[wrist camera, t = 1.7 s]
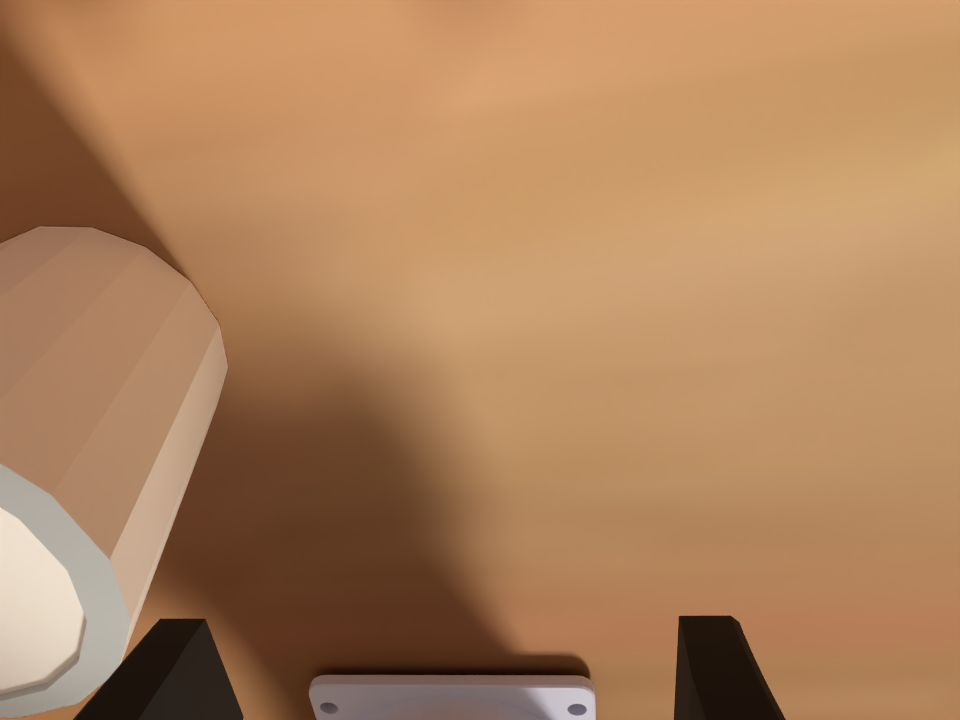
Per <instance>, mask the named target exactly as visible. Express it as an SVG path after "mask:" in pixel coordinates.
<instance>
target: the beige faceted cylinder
mask: <svg viewBox="0 0 960 720" xmlns="http://www.w3.org/2000/svg"><path fill="white" fill-rule="evenodd" d="M227 370H228V363H227V358H226V354H225V349H224V344H223V339H222V334H221V330H220V325H219V323H218V321H217V320H216V318H215V317H214V315H213V314H212V313H211V311H210V310H209V308H208V307H207V305H206V304H205V302H204V301H203V299H202V298H201V296H200V295H199V293H198V292H197V290H196V289H195V287H194V286H193V284H192V283H191V282H190V281H189V280H188V279H187V278H185V277H184V276H183V275H181V274H180V273H179V272H177V271H176V270H175V269H174V268H172V267H171V266H170V265H168V264H167V263H166V262H165V261H163V260H162V259H161V258H159V257H158V256H157V255H155V254H154V253H153V252H152V251H150V250H149V249H148V248H146V247H144V246H142V245H139V244H136V243H133V242H131V241H128V240H125V239H122V238H120V237H117V236H114V235H112V234H109V233H106V232H103V231H101V230H98V229H95V228H93V227H45V226H39V227H37V228H34V229H32V230H30V231H27V232H25V233H23V234H21V235H18V236H16V237H14V238H11V239H9V240H7V241H4V242H2V243H0V717H7V718H19V717H23V716H27V715H32V714H36V713H40V712H44V711H48V710H53V709H57V708H61V707H65V706H69V705H73V704H78V703H79V702H80V701H81V700H83V699H84V698H85V697H86V696H88V695H89V694H90V693H91V692H92V691H94V690H95V689H96V688H97V687H99V686H100V685H101V684H102V683H104V682H105V681H106V680H107V679H108V678H109V677H110V676H111V675H112V674H113V672H114V671H115V670H116V669H117V668H118V667H119V665H120V664H121V662H122V659H123V657H124V654H125V651H126V649H127V646H128V643H129V641H130V638H131V635H132V632H133V630H134V627H135V624H136V622H137V619H138V616H139V614H140V611H141V608H142V606H143V603H144V600H145V598H146V595H147V592H148V590H149V587H150V584H151V582H152V579H153V576H154V574H155V571H156V568H157V565H158V563H159V560H160V557H161V555H162V552H163V549H164V547H165V544H166V541H167V539H168V536H169V533H170V531H171V528H172V525H173V523H174V520H175V517H176V515H177V512H178V509H179V507H180V504H181V501H182V499H183V496H184V493H185V490H186V488H187V485H188V482H189V480H190V477H191V474H192V472H193V469H194V466H195V464H196V461H197V458H198V456H199V453H200V450H201V448H202V445H203V442H204V440H205V437H206V434H207V432H208V429H209V426H210V424H211V421H212V418H213V415H214V413H215V410H216V407H217V405H218V402H219V398H220V395H221V391H222V387H223V384H224V380H225V377H226V373H227Z"/></svg>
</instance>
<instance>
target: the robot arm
mask: <svg viewBox="0 0 960 720" xmlns="http://www.w3.org/2000/svg"><path fill="white" fill-rule="evenodd" d="M309 698H310V701H311V704H312V707H313V710H314V714H315V717H316V720H596V712H595V687H594V684H593V682H592V681H590V680H589V679H588V678H586V677H583V676H578V675H321V676H318V677H316V678H314V679H313V680H312V682H311V685H310V689H309ZM73 720H243V714H242V712H241V709H240V707H239V704H238V701H237V699H236V696H235V694H234V691H233V689H232V686H231V683H230V681H229V678H228V676H227V673H226V671H225V668H224V665H223V663H222V660H221V658H220V655H219V652H218V650H217V647H216V645H215V642H214V640H213V637H212V634H211V632H210V629H209V627H208V624H207V622H206V619H160V620H159V621H158V622H157V623H156V624H155V625H154V626H153V627H152V628H151V630H150V631H149V632H148V633H147V634H146V635H145V636H144V638H143V639H142V640H141V641H140V642H139V643H138V644H137V646H136V647H135V648H134V649H133V650H132V651H131V653H130V654H129V655H128V656H127V657H126V658H125V660H124V661H123V662H122V663H121V664H120V665H119V667H118V668H117V669H116V670H115V671H114V672H113V674H112V675H111V676H110V677H109V678H108V679H107V681H106V682H105V683H104V684H103V685H102V686H101V688H100V689H99V690H98V691H97V692H96V693H95V695H94V696H93V697H92V698H91V699H90V700H89V701H88V703H87V704H86V705H85V706H84V707H83V708H82V710H81V711H80V712H79V713H78V714H77V715H76V716H75V718H74V719H73ZM674 720H786V719H785V718H784V716H783V714H782V712H781V710H780V708H779V706H778V704H777V702H776V701H775V699H774V697H773V695H772V693H771V691H770V689H769V687H768V685H767V683H766V681H765V679H764V677H763V675H762V673H761V671H760V669H759V667H758V664H757V662H756V660H755V658H754V656H753V654H752V651H751V649H750V647H749V645H748V642H747V640H746V638H745V635H744V633H743V631H742V628H741V625H740V623H739V622H738V621H737V620H736V619H734V618H733V617H732V616H679V627H678V647H677V668H676V688H675V708H674Z"/></svg>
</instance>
